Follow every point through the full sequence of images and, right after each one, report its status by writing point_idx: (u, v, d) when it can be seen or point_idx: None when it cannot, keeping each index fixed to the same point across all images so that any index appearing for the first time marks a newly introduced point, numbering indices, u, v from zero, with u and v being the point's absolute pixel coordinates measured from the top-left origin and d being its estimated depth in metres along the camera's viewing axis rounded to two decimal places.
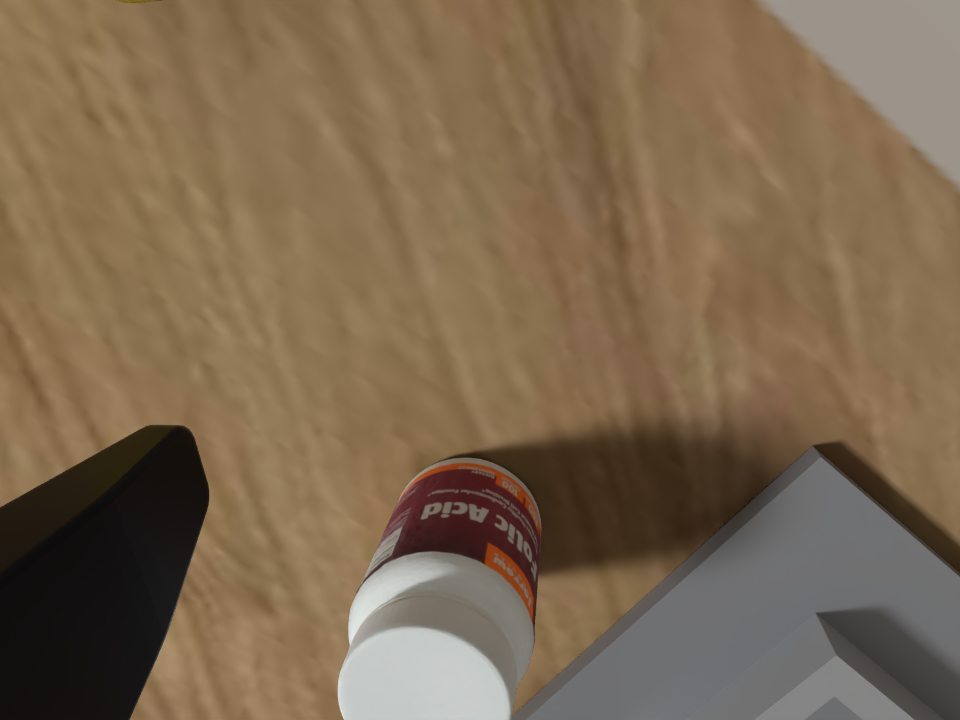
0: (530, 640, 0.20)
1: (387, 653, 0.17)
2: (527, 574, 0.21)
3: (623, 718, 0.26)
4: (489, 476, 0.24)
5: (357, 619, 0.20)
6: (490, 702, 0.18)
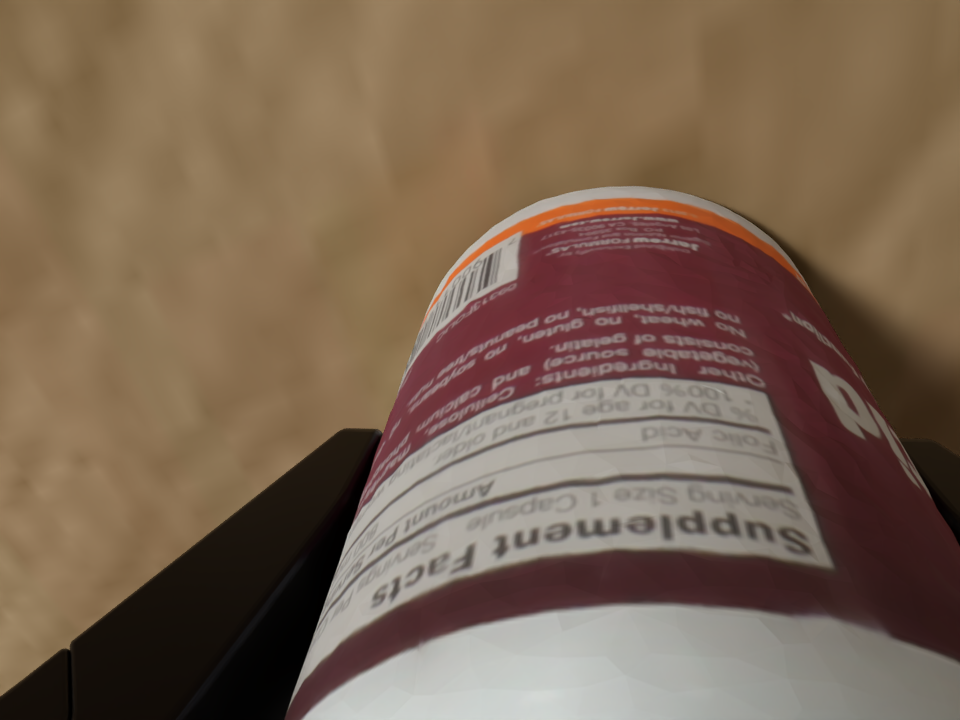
0: None
1: None
2: None
3: None
4: None
5: None
6: None
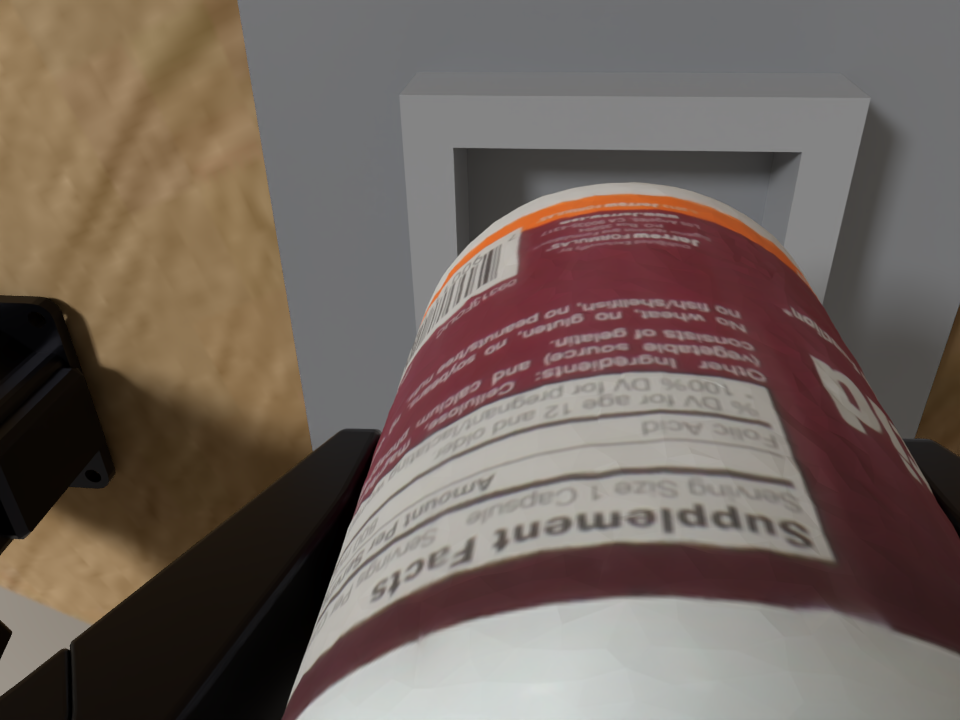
0: None
1: None
2: None
3: None
4: None
5: None
6: None
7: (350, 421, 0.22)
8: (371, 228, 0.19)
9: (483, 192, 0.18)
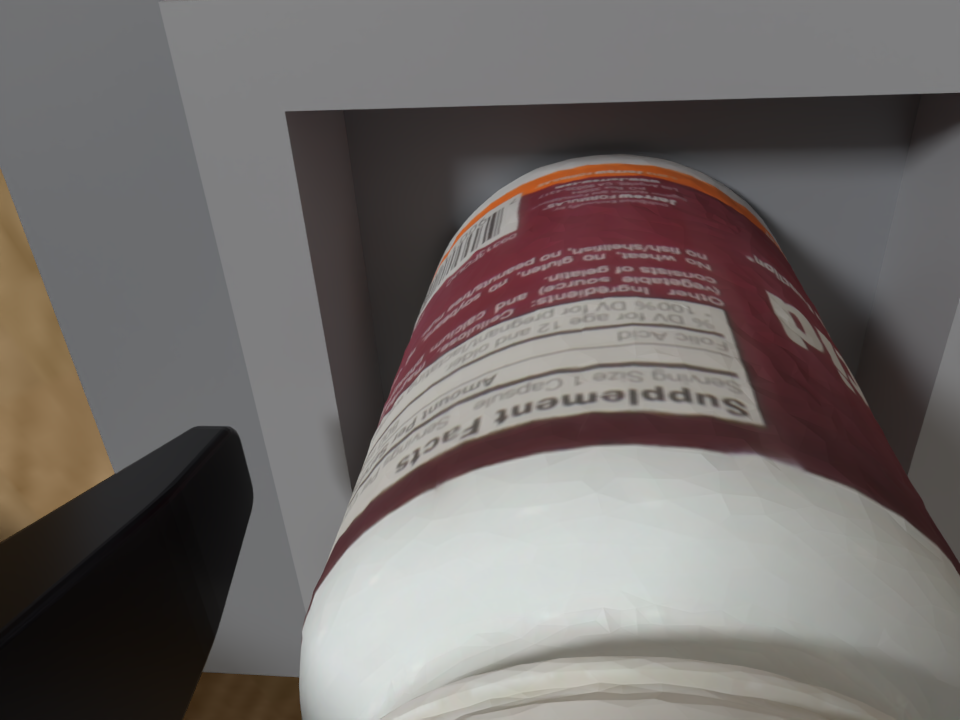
0: None
1: None
2: None
3: None
4: None
5: (516, 563, 0.04)
6: None
7: None
8: (198, 268, 0.11)
9: (382, 200, 0.10)
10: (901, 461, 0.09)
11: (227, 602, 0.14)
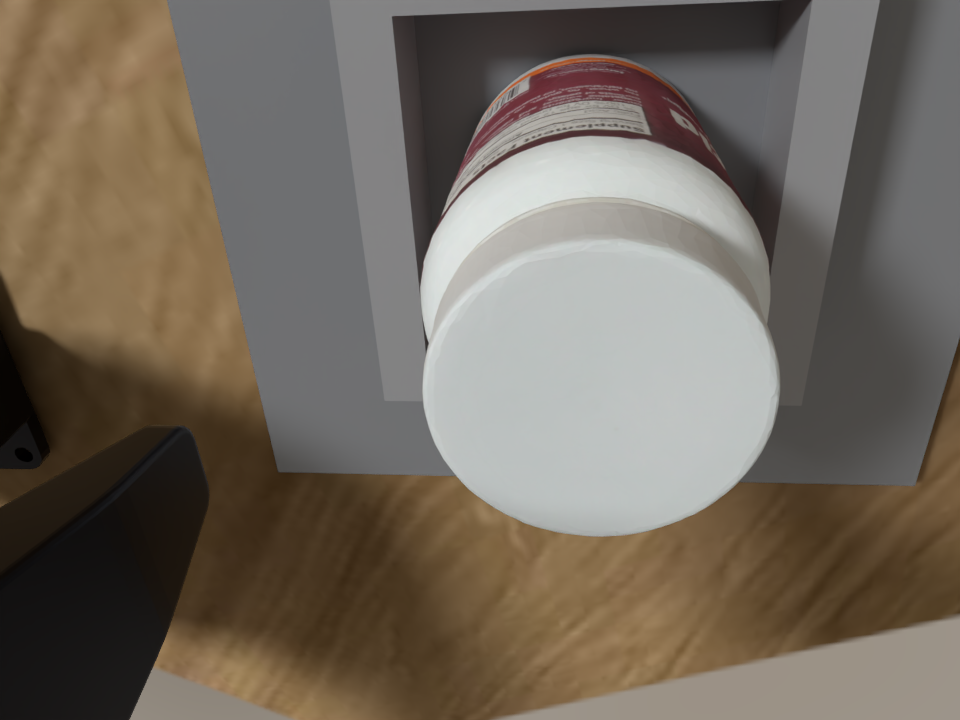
0: None
1: (645, 293, 0.08)
2: None
3: None
4: None
5: (536, 183, 0.10)
6: (689, 482, 0.09)
7: (304, 377, 0.19)
8: (311, 141, 0.16)
9: (438, 90, 0.15)
10: (771, 248, 0.15)
11: (312, 409, 0.20)
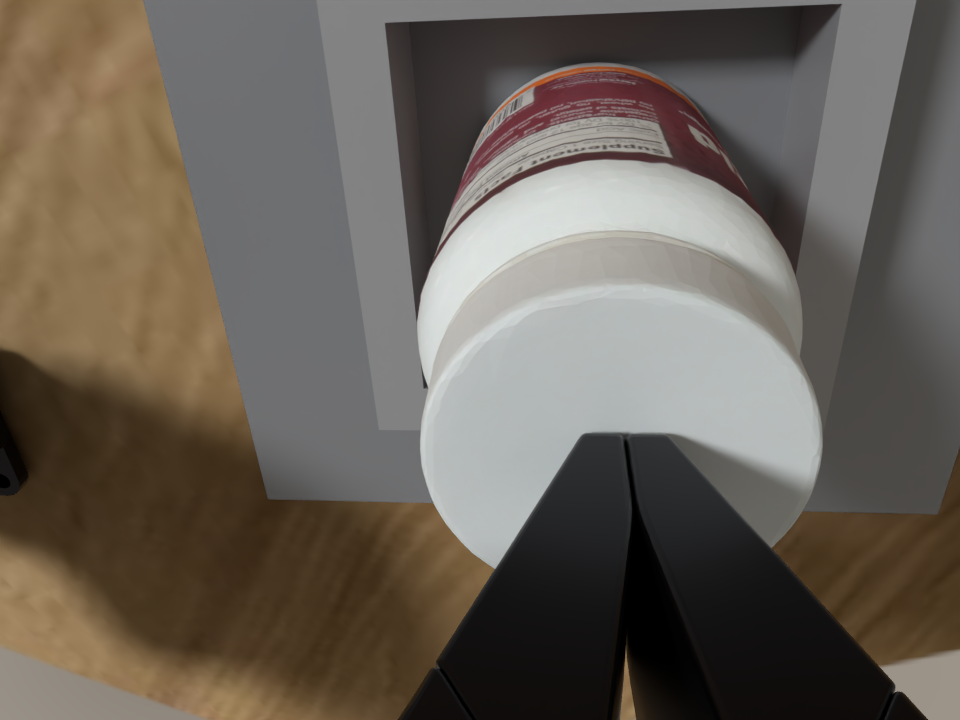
0: None
1: (673, 344, 0.07)
2: None
3: None
4: None
5: (546, 212, 0.09)
6: None
7: (294, 401, 0.18)
8: (300, 155, 0.15)
9: (435, 100, 0.14)
10: None
11: (302, 434, 0.19)
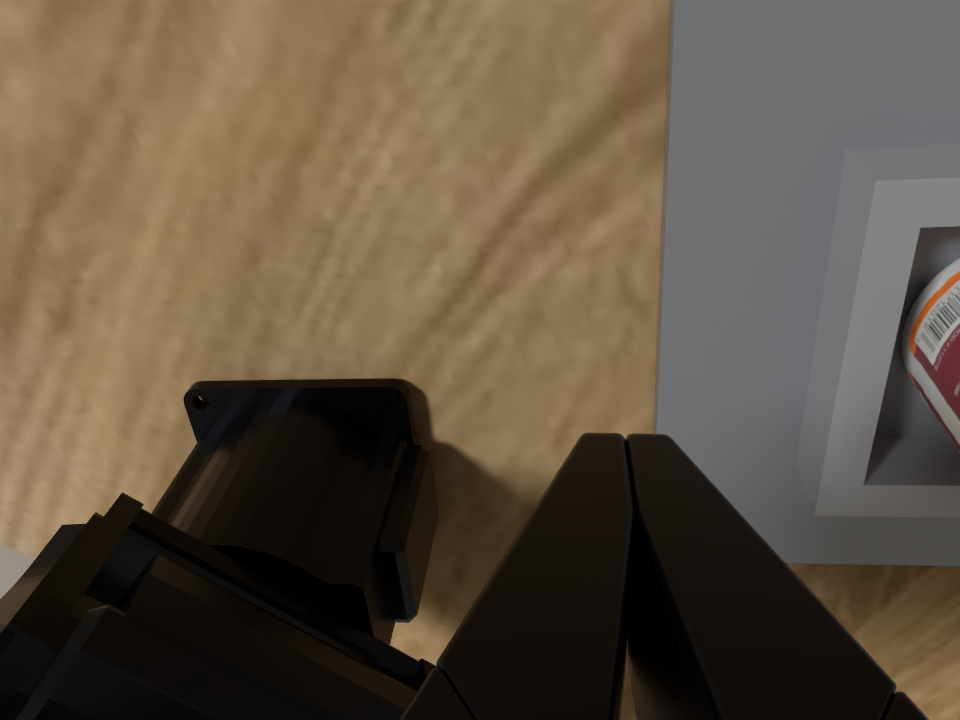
0: None
1: None
2: None
3: (939, 74, 0.16)
4: None
5: None
6: None
7: None
8: (763, 300, 0.19)
9: None
10: None
11: None
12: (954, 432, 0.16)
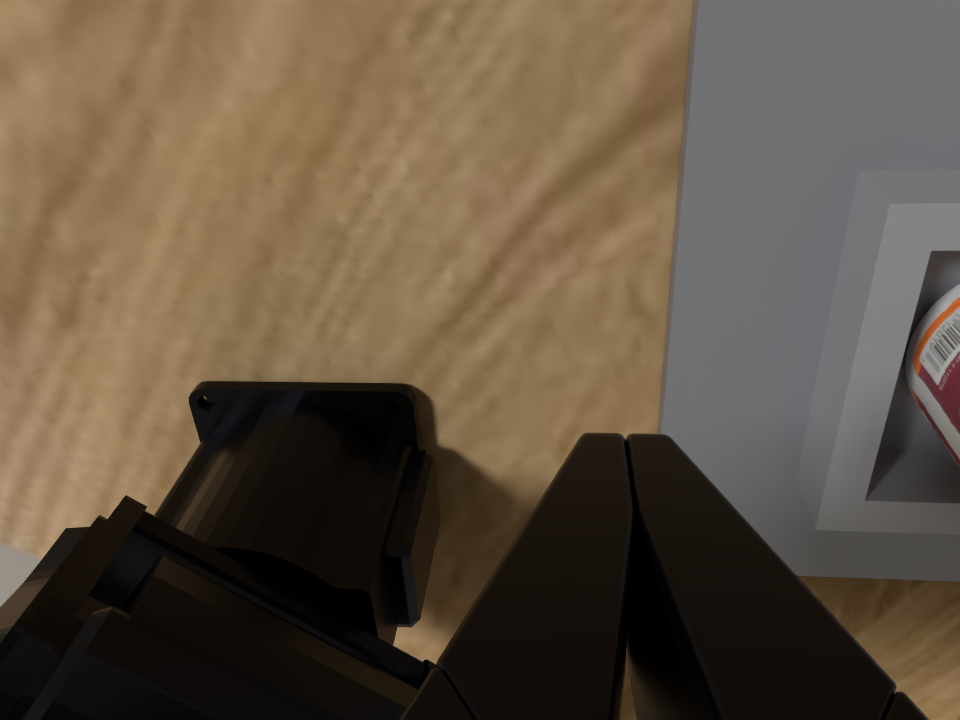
0: None
1: None
2: None
3: (953, 100, 0.16)
4: None
5: None
6: None
7: None
8: (771, 316, 0.19)
9: None
10: None
11: None
12: (958, 452, 0.17)
